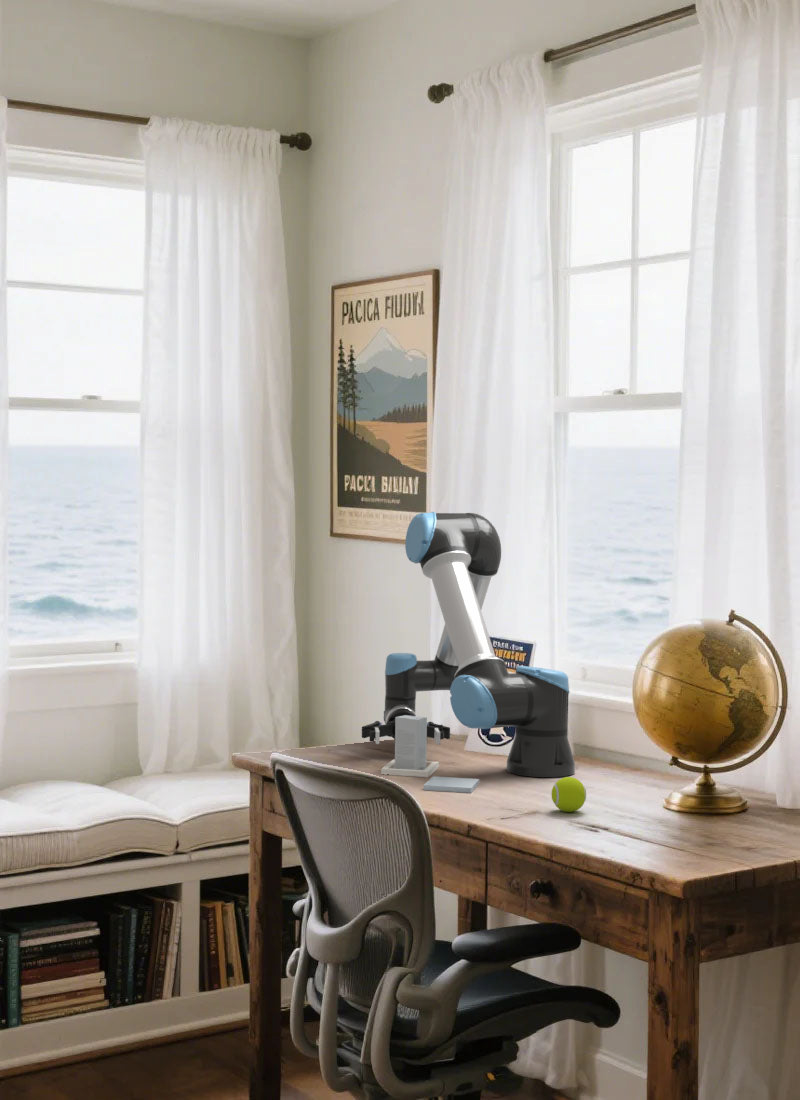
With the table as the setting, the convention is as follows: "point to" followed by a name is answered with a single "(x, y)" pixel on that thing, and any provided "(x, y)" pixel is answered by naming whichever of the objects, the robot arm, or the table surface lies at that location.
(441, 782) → the coaster
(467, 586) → the robot arm
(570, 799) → the tennis ball
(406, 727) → the skincare box
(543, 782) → the table surface
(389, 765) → the grey base tray
